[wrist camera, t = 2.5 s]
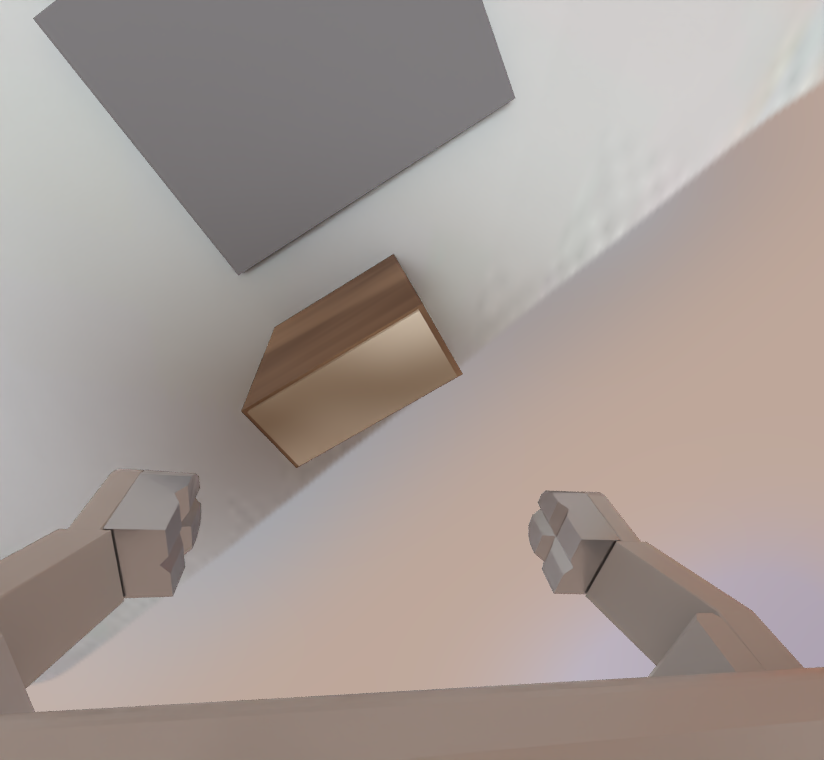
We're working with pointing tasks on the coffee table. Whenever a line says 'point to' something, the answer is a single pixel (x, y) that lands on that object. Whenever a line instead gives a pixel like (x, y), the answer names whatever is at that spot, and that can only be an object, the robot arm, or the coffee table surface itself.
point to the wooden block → (347, 364)
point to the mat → (281, 98)
